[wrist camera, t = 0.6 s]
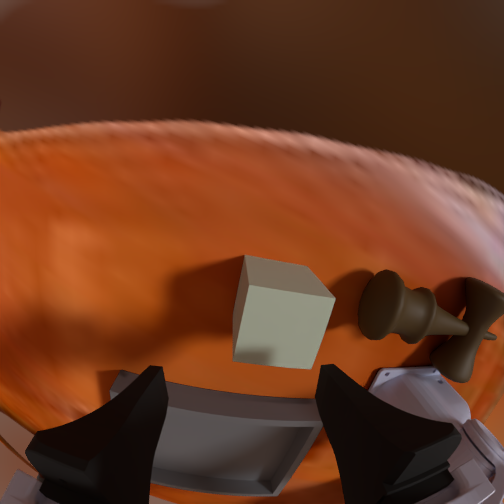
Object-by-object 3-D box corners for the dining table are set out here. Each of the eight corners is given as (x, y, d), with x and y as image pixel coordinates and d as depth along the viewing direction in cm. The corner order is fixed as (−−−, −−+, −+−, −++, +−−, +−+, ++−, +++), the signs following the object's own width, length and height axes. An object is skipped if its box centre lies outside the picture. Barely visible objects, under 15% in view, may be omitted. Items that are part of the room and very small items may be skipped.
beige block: (307, 266, 19) (335, 298, 13) (291, 322, 20) (311, 369, 14) (244, 254, 19) (249, 284, 13) (232, 313, 20) (232, 361, 14)
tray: (317, 398, 22) (326, 420, 19) (274, 478, 26) (277, 496, 23) (120, 369, 20) (109, 390, 18) (133, 459, 24) (127, 476, 21)
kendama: (379, 230, 20) (498, 290, 22) (332, 337, 22) (462, 360, 24) (423, 248, 14) (531, 309, 16) (355, 381, 16) (488, 387, 18)
